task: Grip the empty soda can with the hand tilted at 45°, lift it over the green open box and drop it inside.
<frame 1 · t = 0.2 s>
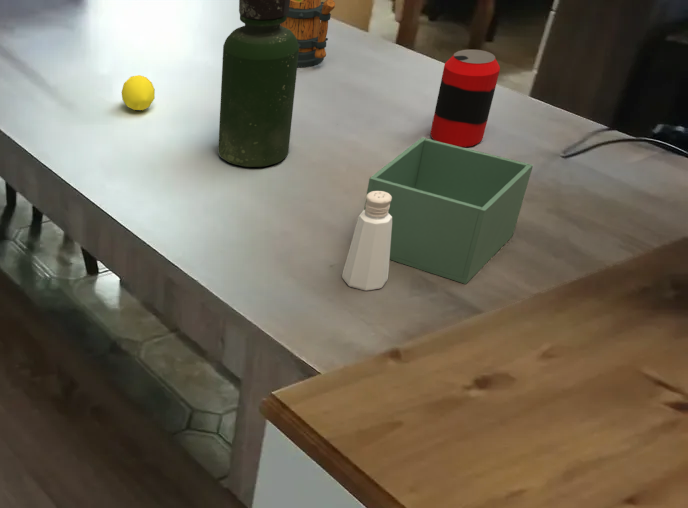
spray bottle: (252, 155, 139), on the table
soda can: (455, 139, 140), on the table
mug: (301, 61, 167), on the table
pepper shaker: (364, 280, 112), on the table
green open box: (435, 242, 117), on the table
lemon: (138, 110, 154), on the table
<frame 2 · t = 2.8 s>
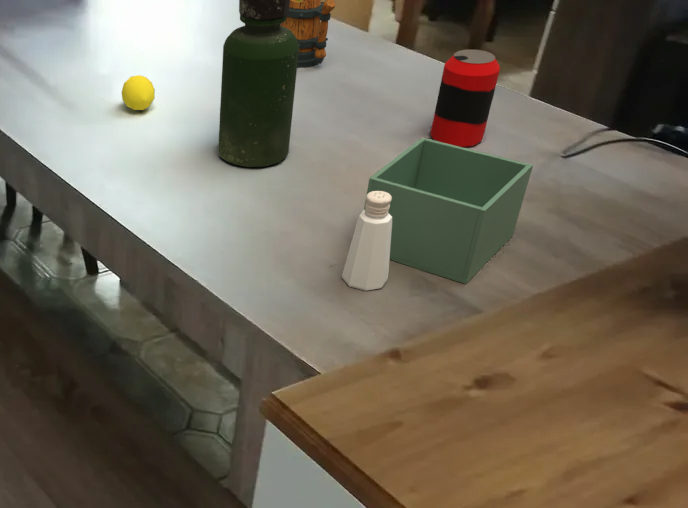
nothing on the table moved.
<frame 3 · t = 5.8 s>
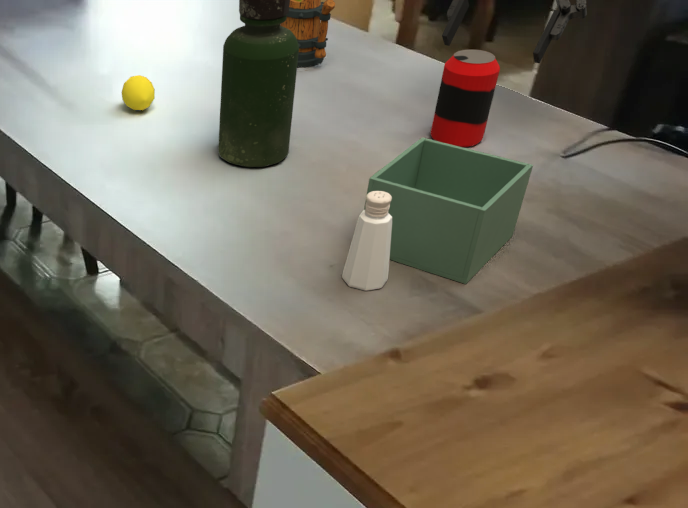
hand: (489, 49, 136), 11 cm above the table, tool tilted 45°, fingers open, 13 cm apart
nothing on the table moved.
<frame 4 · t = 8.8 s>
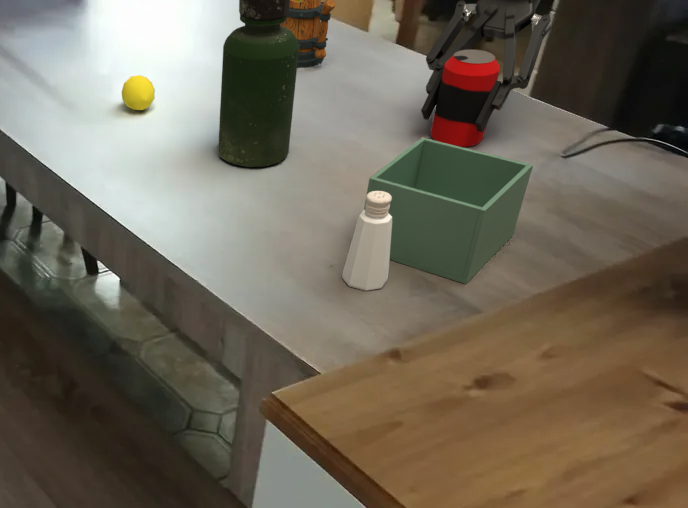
hand: (451, 121, 136), 4 cm above the table, tool tilted 45°, fingers closed on soda can, 7 cm apart
soda can: (455, 139, 140), on the table, touching gripper
everything else where it was.
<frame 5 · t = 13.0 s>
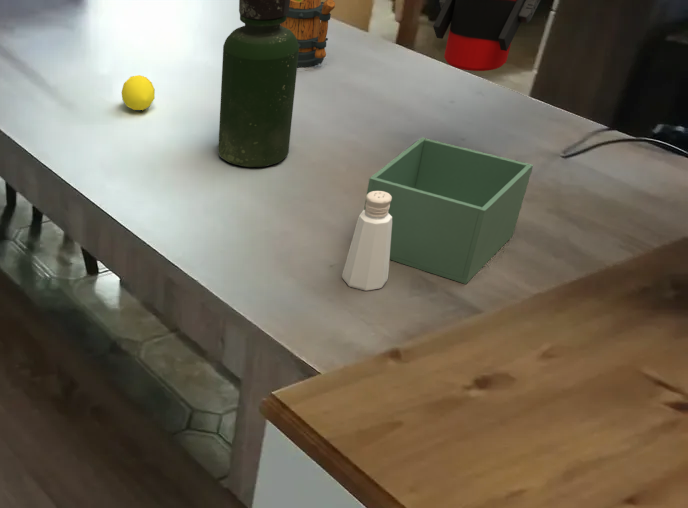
hand: (469, 38, 114), 20 cm above the table, tool tilted 45°, fingers closed on soda can, 7 cm apart
soda can: (474, 62, 118), point 16 cm above the table, touching gripper
everything else where it was.
when the fingers open (12 cm above the table, at t = 17.7 s): soda can drops 8 cm, resting on green open box.
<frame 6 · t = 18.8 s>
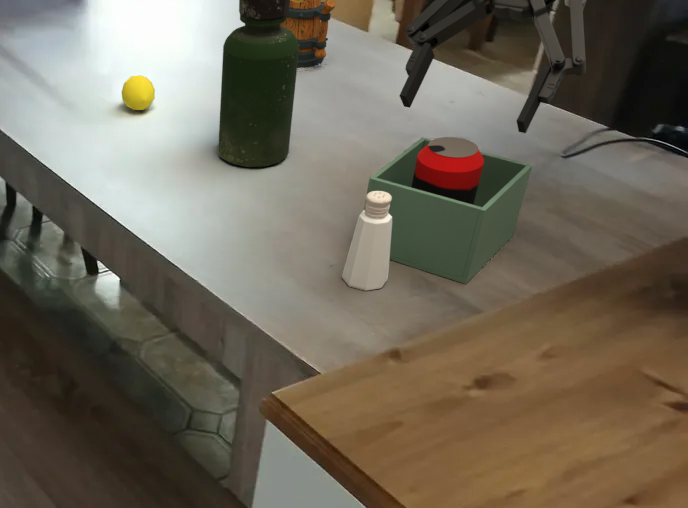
hand: (460, 114, 105), 17 cm above the table, tool tilted 45°, fingers open, 13 cm apart
soda can: (432, 239, 117), resting on green open box
everything else where it was.
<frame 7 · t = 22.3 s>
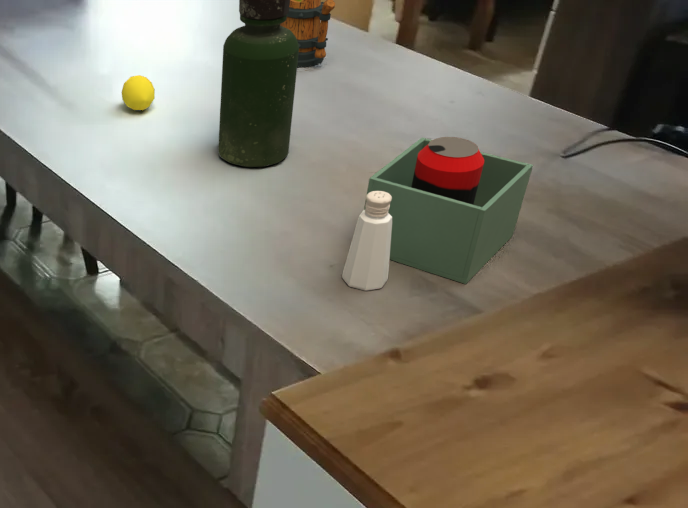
nothing on the table moved.
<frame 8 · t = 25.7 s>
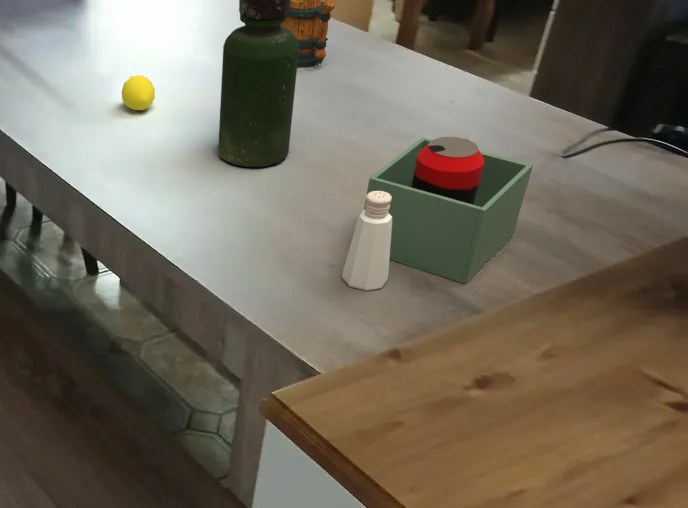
nothing on the table moved.
at the end: soda can inside the target area in the green open box (0.4 cm from its centre), point 0.4 cm above the green open box's base; the gripper is holding nothing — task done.
